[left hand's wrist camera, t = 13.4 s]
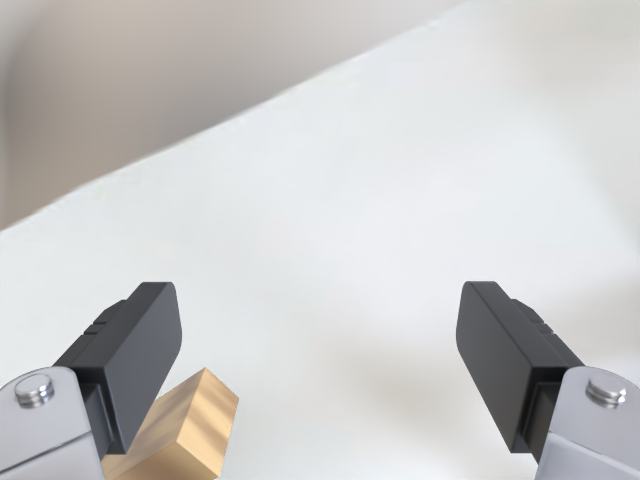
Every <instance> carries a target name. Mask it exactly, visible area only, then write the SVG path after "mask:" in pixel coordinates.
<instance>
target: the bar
mask: <svg viewBox="0 0 640 480" xmlns="http://www.w3.org/2000/svg"><path fill="white" fill-rule="evenodd" d="M238 400H239V398H238V397H237V396H236V395H235V394H234V393H233V392H232V391H231V390H230V389H228V388H227V387H226V386H225V385H224V384H223V383H222V382H221V381H220V380H219V379H218V378H217V377H216V376H215V375H213V374H212V373H211V372H210V371H209V370H208V369H207V368H206V367H205V368H204V369H202V370H201V371H199V372H198V373H196V374H195V375H193V376H192V377H190V378H189V379H187V380H186V381H184V382H183V383H181V384H180V385H178V386H177V387H175V388H174V389H172V390H170V391H169V392H167V393H166V394H164V395H163V396H161V397H160V398H158V399H157V400H155V401H154V402H153V404H152V406H151V407H150V409H149V411H148V413H147V415H146V417H145V419H144V421H143V423H142V425H141V427H140V429H139V431H138V433H137V434H136V436H135V438H134V440H133V442H132V444H131V446H130V448H129V450H128V452H127V454H126V455H105V456H104V457H103V459H102V461H101V465H102V469H103V472H104V476H105V479H106V480H214V479H216V478H217V477H219V475H220V471H221V467H222V463H223V460H224V456H225V452H226V448H227V444H228V440H229V436H230V432H231V428H232V424H233V420H234V416H235V412H236V408H237V404H238Z"/></svg>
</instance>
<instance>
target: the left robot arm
mask: <svg viewBox="0 0 640 480" xmlns="http://www.w3.org/2000/svg"><path fill="white" fill-rule="evenodd" d="M181 342H182V329H181V322H180V316H179V309H178V303H177V296H176V290H175V286H174V284H173V283H172V282H143V283H141V284H140V285H139V286H138V287H137V289H136V290H135V291H134V292H133V293H132V294H131V295H130V297H129V298H128V299H127V300H121V301H119V302H117V303H116V304H114V305H112V306H111V307H109V308H107V309H106V310H104V311H103V312H102V313H101V314H100V315H99V317H98V318H97V319H96V320H95V321H94V322H93V325H90V326H89V327H88V328H87V329H86V330H85V331H84V335H81V336H80V337H79V338H78V339H77V340H76V341H75V342H74V343H73V344H72V345H71V346H70V347H69V349H68V350H67V351H66V352H65V353H64V354H63V355H62V356H61V357H60V358H59V359H58V360H57V361H56V362H55V363H54V364H53V366H52V367H45V368H41V369H37V370H34V371H31V372H28V373H26V374H23V375H21V376H19V377H17V378H15V379H14V380H12V381H10V382H9V383H7V384H6V385H5V386H3V387H2V388H1V389H0V480H106V479H105V476H104V472H103V469H102V465H101V461H102V459H103V457H104V456H105V455H126V454H127V452H128V450H129V448H130V446H131V444H132V442H133V440H134V438H135V436H136V434H137V433H138V431H139V429H140V427H141V425H142V423H143V421H144V419H145V417H146V415H147V413H148V411H149V409H150V407H151V406H152V404H153V402H154V400H155V398H156V396H157V394H158V392H159V390H160V388H161V386H162V384H163V382H164V380H165V379H166V377H167V375H168V373H169V371H170V369H171V367H172V365H173V363H174V361H175V359H176V357H177V355H178V353H179V351H180V347H181ZM456 342H457V347H458V350H459V353H460V355H461V357H462V359H463V361H464V363H465V365H466V367H467V369H468V371H469V372H470V374H471V376H472V378H473V380H474V382H475V384H476V386H477V388H478V390H479V392H480V394H481V396H482V398H483V400H484V402H485V404H486V406H487V408H488V410H489V412H490V413H491V415H492V417H493V419H494V421H495V423H496V425H497V427H498V429H499V431H500V433H501V435H502V437H503V439H504V441H505V443H506V445H507V447H508V449H509V451H510V453H532V455H533V456H534V458H535V460H536V462H537V464H538V469H537V472H536V476H535V479H534V480H640V389H639V388H638V387H637V386H635V385H634V384H633V383H631V382H630V381H628V380H626V379H625V378H623V377H621V376H619V375H617V374H614V373H612V372H609V371H606V370H603V369H599V368H595V367H586V366H585V365H584V364H583V363H582V362H581V361H580V360H579V358H578V357H577V356H576V355H575V354H574V353H573V352H572V351H571V350H570V349H569V348H568V347H567V346H566V344H565V343H564V342H563V341H562V340H561V339H560V338H559V337H558V336H557V335H556V334H553V331H552V329H551V328H550V327H549V326H548V325H547V324H544V321H543V320H542V319H541V318H540V317H539V315H538V314H537V313H536V312H535V311H534V310H533V309H531V308H530V307H528V306H526V305H525V304H523V303H521V302H520V301H518V300H516V299H510V298H509V296H508V295H507V294H506V293H505V292H504V291H503V290H502V288H501V287H500V286H499V285H498V284H497V283H496V282H494V281H467V282H465V283H464V285H463V288H462V294H461V301H460V308H459V314H458V321H457V328H456Z"/></svg>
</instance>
